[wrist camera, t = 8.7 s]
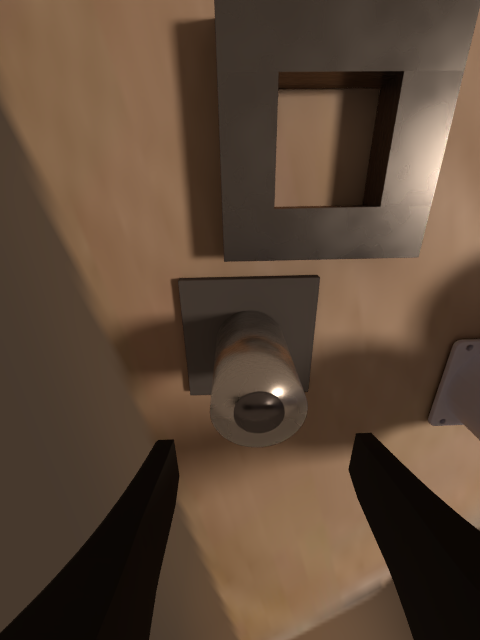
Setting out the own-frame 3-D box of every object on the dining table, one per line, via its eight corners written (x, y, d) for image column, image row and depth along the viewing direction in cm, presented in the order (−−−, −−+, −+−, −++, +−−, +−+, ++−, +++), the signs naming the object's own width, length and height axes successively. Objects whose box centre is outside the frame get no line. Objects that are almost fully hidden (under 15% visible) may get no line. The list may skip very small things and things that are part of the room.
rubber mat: (317, 275, 18) (320, 277, 18) (306, 386, 22) (308, 391, 22) (179, 278, 18) (178, 280, 18) (191, 390, 22) (190, 395, 21)
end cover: (285, 310, 19) (314, 372, 12) (280, 368, 21) (302, 449, 14) (216, 310, 19) (208, 373, 12) (217, 368, 20) (211, 450, 14)
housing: (447, 16, 13) (484, -15, 11) (397, 250, 18) (418, 257, 16) (216, 17, 13) (213, -14, 11) (225, 253, 18) (224, 261, 16)
